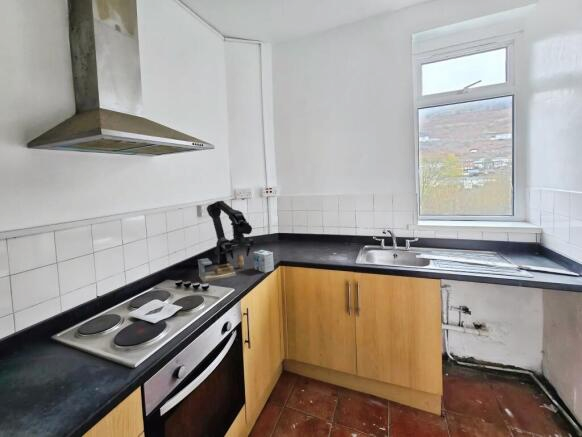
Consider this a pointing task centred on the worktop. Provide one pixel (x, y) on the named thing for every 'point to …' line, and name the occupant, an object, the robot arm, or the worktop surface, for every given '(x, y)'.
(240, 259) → the peg
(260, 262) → the light bulb box
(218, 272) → the awning socket
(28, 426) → the worktop surface
